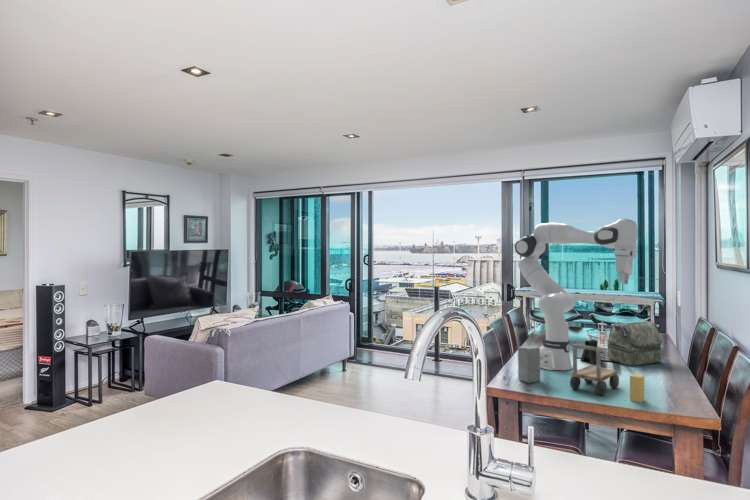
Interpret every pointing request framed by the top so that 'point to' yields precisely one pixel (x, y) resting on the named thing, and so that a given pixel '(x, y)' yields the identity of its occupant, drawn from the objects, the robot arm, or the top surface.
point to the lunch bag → (635, 343)
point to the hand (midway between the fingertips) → (623, 283)
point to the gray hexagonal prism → (529, 364)
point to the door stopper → (590, 353)
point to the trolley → (593, 372)
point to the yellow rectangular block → (637, 388)
